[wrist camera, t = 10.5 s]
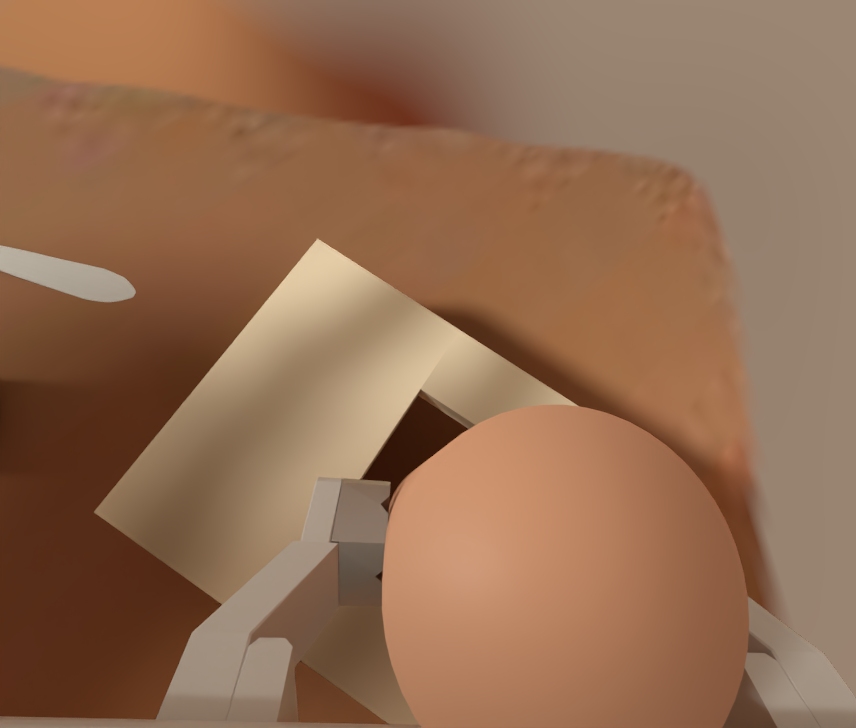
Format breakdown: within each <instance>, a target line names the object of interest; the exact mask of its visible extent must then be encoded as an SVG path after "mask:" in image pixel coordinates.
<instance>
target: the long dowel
mask: <svg viewBox="0 0 856 728" xmlns="http://www.w3.org/2000/svg"><path fill="white" fill-rule="evenodd" d="M382 615H383V624H384V633H385V639H386V644H387V648H388V652H389V656H390V660H391V665H392V668H393V670H394V673H395V676H396V678H397V681H398V684H399V686H400V689H401V692H402V694H403V696H404V698H405V700H406V702H407V703H408V705H409V707H410V709H411V711H412V713H413V715H414V717H415V719H416V720H417V721H418V723H419V724H420V726H421V727H422V728H722V727H723V725H724V723H725V721H726V719H727V717H728V715H729V713H730V710H731V708H732V706H733V704H734V702H735V699H736V696H737V693H738V690H739V686H740V683H741V680H742V677H743V672H744V667H745V661H746V656H747V650H748V636H749V609H748V595H747V589H746V583H745V577H744V571H743V567H742V564H741V560H740V557H739V553H738V550H737V546H736V544H735V541H734V539H733V536H732V534H731V532H730V529H729V527H728V524H727V522H726V520H725V518H724V516H723V515H722V513H721V511H720V509H719V507H718V505H717V504H716V502H715V500H714V499H713V497H712V496H711V494H710V493H709V491H708V490H707V488H706V487H705V486H704V484H703V483H702V481H701V480H700V479H699V478H698V476H697V475H696V474H695V473H694V472H693V471H692V470H691V468H690V467H689V466H688V465H687V464H686V463H685V462H684V461H683V460H682V459H681V458H680V457H679V456H678V455H677V454H676V453H674V452H673V451H672V450H671V449H670V448H669V447H668V446H667V445H665V444H664V443H662V442H661V441H660V440H658V439H657V438H656V437H654V436H653V435H651V434H650V433H649V432H647V431H645V430H643V429H641V428H639V427H638V426H636V425H634V424H632V423H630V422H629V421H626V420H624V419H621V418H619V417H616V416H614V415H611V414H609V413H605V412H602V411H598V410H594V409H590V408H586V407H579V406H571V405H538V406H530V407H523V408H519V409H515V410H512V411H508V412H504V413H501V414H498V415H496V416H494V417H491V418H489V419H487V420H485V421H482V422H480V423H478V424H477V425H475V426H473V427H472V428H470V429H468V430H467V431H465V432H463V433H462V434H460V435H459V436H458V437H457V438H455V439H454V440H453V441H451V442H450V443H449V444H447V445H446V446H445V447H444V448H442V449H441V450H440V451H438V452H437V453H436V454H434V455H433V456H432V457H431V458H429V459H428V460H427V461H425V462H424V463H423V464H421V465H420V466H419V467H418V468H416V469H415V470H414V471H412V472H411V473H410V474H409V475H407V476H406V477H405V478H404V479H403V480H402V481H401V482H400V484H399V485H398V487H397V488H396V490H395V491H394V493H393V495H392V498H391V500H390V503H389V516H388V526H387V532H386V540H385V548H384V562H383V577H382Z"/></svg>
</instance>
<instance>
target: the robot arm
mask: <svg viewBox="0 0 856 728" xmlns="http://www.w3.org/2000/svg"><path fill="white" fill-rule="evenodd" d="M390 484H391V482H386V481H373V480H360V479H347V478H343V479H340V478H328V477H318V479H317V481H316V482H315V486H314V490H313V494H312V498H311V502H310V506H309V509H308V513H307V517H306V521H305V525H304V529H303V533H302V537H301V541H292V542H291V543H290V544H289V545H288V546H287V547H286V548H284V549H283V550H282V551H281V552H280V553H279V554H278V555H277V556H276V557H274V558H273V559H272V560H271V561H270V562H269V563H268V564H267V565H266V566H265V567H263V568H262V569H261V570H260V571H259V572H258V573H257V574H256V575H255V576H254V577H252V578H251V579H250V580H249V581H248V582H247V583H246V584H245V585H244V586H243V587H241V588H240V589H239V590H238V591H237V592H236V593H235V594H234V595H233V596H232V597H230V598H229V599H228V600H227V601H226V602H225V603H224V604H223V605H222V606H220V607H219V608H218V609H217V610H216V611H215V612H214V613H213V614H212V615H211V616H209V617H208V618H207V619H206V620H205V621H204V622H203V623H202V624H201V625H200V626H198V627H197V628H196V629H195V630H194V631H193V632H192V633H191V636H190V638H189V641H188V643H187V645H186V648H185V650H184V653H183V655H182V657H181V660H180V662H179V665H178V667H177V669H176V672H175V674H174V677H173V679H172V681H171V684H170V686H169V689H168V691H167V693H166V696H165V698H164V701H163V703H162V705H161V708H160V710H159V713H158V715H157V717H156V719H108V718H60V717H11V716H0V728H422V727H421V726H420V725H407V724H357V723H307V722H299V716H298V705H297V693H296V681H295V669H294V668H295V667H296V666H297V664H298V663H299V661H300V660H301V659H302V657H303V656H304V655H305V653H306V652H307V651H308V649H309V648H310V647H311V645H312V644H313V643H314V641H315V640H316V639H317V637H318V636H319V634H320V633H321V632H322V630H323V629H324V628H325V626H326V625H327V624H328V622H329V621H330V620H331V618H332V617H333V616H334V614H335V613H336V612H337V610H338V609H339V606H382V577H383V562H384V548H385V540H386V532H387V526H388V516H389V500H390ZM748 609H749V636H748V650H747V656H746V661H745V667H744V672H743V677H742V680H741V683H740V686H739V690H738V693H737V696H736V699H735V702H734V704H733V706H732V708H731V710H730V713H729V715H728V717H727V719H726V721H725V723H724V725H723V727H722V728H856V697H855V696H854V694H853V693H852V692H851V690H850V689H849V688H848V686H847V685H846V683H845V682H844V680H843V679H842V678H841V676H840V675H839V674H838V672H837V671H836V669H835V668H834V667H833V665H832V664H831V662H830V661H829V660H828V658H827V657H826V656H825V654H824V653H823V652H821V651H820V650H819V649H817V648H816V647H815V646H813V645H812V644H811V643H809V642H808V641H807V640H805V639H804V638H803V637H801V636H800V635H799V634H797V633H796V632H795V631H793V630H792V629H791V628H790V627H788V626H787V625H786V624H784V623H783V622H782V621H780V620H779V619H778V618H776V617H775V616H774V615H772V614H771V613H770V612H768V611H767V610H766V609H764V608H763V607H762V606H760V605H759V604H758V603H756V602H755V601H754V600H752V599H751V598H750V597H748Z"/></svg>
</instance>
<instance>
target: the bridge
mask: <svg viewBox="0 0 856 728" xmlns="http://www.w3.org/2000/svg"><path fill="white" fill-rule="evenodd" d="M418 396H419V397H421V398H422V399H424V400H425V401H427V402H428V403H430V404H431V405H433V406H434V407H436V408H438V409H439V410H441V411H442V412H444V413H445V414H447V415H448V416H450V417H451V418H453V419H454V420H456V421H457V422H459V423H460V424H462V425H463V426H465V427H466V428H468V429H470V428H472V427H473V426H475V425H477V424H478V423H480V422H482V421H485V420H487V419H489V418H491V417H494V416H496V415H498V414H501V413H504V412H508V411H512V410H515V409H519V408H523V407H530V406H538V405H571V406H578V405H576V404H575V403H573V402H571V401H570V400H568V399H567V398H565V397H564V396H562V395H561V394H559V393H557V392H556V391H554V390H553V389H551V388H550V387H548V386H546V385H545V384H543V383H542V382H540V381H539V380H537V379H536V378H534V377H532V376H531V375H529V374H528V373H526V372H525V371H523V370H521V369H520V368H518V367H517V366H515V365H514V364H512V363H511V362H509V361H507V360H506V359H504V358H503V357H501V356H500V355H498V354H497V353H495V352H493V351H492V350H490V349H489V348H487V347H486V346H484V345H482V344H481V343H479V342H478V341H476V340H475V339H473V338H472V337H470V336H468V335H467V334H465V333H464V332H462V331H461V330H459V329H457V328H456V327H454V326H453V325H451V324H450V323H448V322H447V321H445V320H443V319H442V318H440V317H439V316H437V315H436V314H434V313H432V312H431V311H429V310H428V309H426V308H425V307H423V306H422V305H420V304H418V303H417V302H415V301H414V300H412V299H411V298H409V297H408V296H406V295H404V294H403V293H401V292H400V291H398V290H397V289H395V288H393V287H392V286H390V285H389V284H387V283H386V282H384V281H383V280H381V279H379V278H378V277H376V276H375V275H373V274H372V273H370V272H368V271H367V270H365V269H364V268H362V267H361V266H359V265H358V264H356V263H354V262H353V261H351V260H350V259H348V258H347V257H345V256H343V255H342V254H340V253H339V252H337V251H336V250H334V249H333V248H331V247H329V246H328V245H326V244H325V243H323V242H322V241H320V240H318V239H317V240H316V241H315V242H314V244H313V245H312V246H311V247H310V249H309V250H308V251H307V252H306V253H305V255H304V256H303V257H302V258H301V260H300V261H299V262H298V263H297V264H296V266H295V267H294V268H293V269H292V271H291V272H290V273H289V274H288V275H287V277H286V278H285V279H284V280H283V282H282V283H281V284H280V285H279V286H278V288H277V289H276V290H275V291H274V292H273V294H272V295H271V296H270V297H269V299H268V300H267V301H266V302H265V303H264V305H263V306H262V307H261V308H260V310H259V311H258V312H257V313H256V314H255V316H254V317H253V318H252V319H251V321H250V322H249V323H248V324H247V325H246V327H245V328H244V329H243V330H242V332H241V333H240V334H239V335H238V336H237V338H236V339H235V340H234V341H233V343H232V344H231V345H230V346H229V347H228V349H227V350H226V351H225V352H224V354H223V355H222V356H221V357H220V358H219V360H218V361H217V362H216V363H215V364H214V366H213V367H212V368H211V369H210V371H209V372H208V373H207V374H206V375H205V377H204V378H203V379H202V380H201V382H200V383H199V384H198V385H197V386H196V388H195V389H194V390H193V391H192V393H191V394H190V395H189V396H188V397H187V399H186V400H185V401H184V402H183V404H182V405H181V406H180V407H179V408H178V410H177V411H176V412H175V413H174V415H173V416H172V417H171V418H170V419H169V421H168V422H167V423H166V424H165V426H164V427H163V428H162V429H161V430H160V432H159V433H158V434H157V435H156V437H155V438H154V439H153V440H152V441H151V443H150V444H149V445H148V446H147V447H146V449H145V450H144V451H143V452H142V454H141V455H140V456H139V457H138V458H137V460H136V461H135V462H134V463H133V465H132V466H131V467H130V468H129V469H128V471H127V472H126V473H125V474H124V476H123V477H122V478H121V479H120V480H119V482H118V483H117V484H116V485H115V487H114V488H113V489H112V490H111V491H110V493H109V494H108V495H107V496H106V498H105V499H104V500H103V501H102V502H101V504H100V505H99V506H98V507H97V509H96V510H95V511H94V513H95V514H97V515H98V516H100V517H101V518H102V519H104V520H105V521H107V522H108V523H109V524H111V525H112V526H114V527H115V528H116V529H118V530H119V531H121V532H122V533H123V534H125V535H126V536H127V537H129V538H130V539H132V540H133V541H134V542H136V543H137V544H139V545H140V546H141V547H143V548H144V549H146V550H147V551H148V552H150V553H151V554H153V555H154V556H155V557H157V558H158V559H160V560H161V561H162V562H164V563H165V564H166V565H168V566H169V567H171V568H172V569H173V570H175V571H176V572H178V573H179V574H180V575H182V576H183V577H185V578H186V579H187V580H189V581H190V582H192V583H193V584H194V585H196V586H197V587H199V588H200V589H201V590H203V591H204V592H205V593H207V594H208V595H210V596H211V597H212V598H214V599H215V600H217V601H218V602H219V603H221V604H222V605H223V604H224V603H225V602H226V601H227V600H228V599H229V598H230V597H232V596H233V595H234V594H235V593H236V592H237V591H238V590H239V589H240V588H241V587H243V586H244V585H245V584H246V583H247V582H248V581H249V580H250V579H251V578H252V577H254V576H255V575H256V574H257V573H258V572H259V571H260V570H261V569H262V568H263V567H265V566H266V565H267V564H268V563H269V562H270V561H271V560H272V559H273V558H274V557H276V556H277V555H278V554H279V553H280V552H281V551H282V550H283V549H284V548H286V547H287V546H288V545H289V544H290V543H291V542H292V541H301V537H302V533H303V529H304V525H305V521H306V517H307V513H308V509H309V506H310V502H311V498H312V494H313V490H314V486H315V482H316V481H317V479H318V477H328V478H340V479H343V478H347V479H360V480H362V479H363V477H364V476H365V474H366V473H367V471H368V470H369V468H370V467H371V465H372V464H373V462H374V461H375V460H376V458H377V457H378V455H379V454H380V452H381V451H382V449H383V448H384V446H385V445H386V443H387V442H388V440H389V439H390V437H391V436H392V434H393V433H394V431H395V430H396V428H397V427H398V425H399V424H400V422H401V421H402V419H403V418H404V416H405V415H406V413H407V412H408V410H409V409H410V407H411V406H412V404H413V403H414V401H415V400H416V398H417V397H418ZM300 661H302V662H303V663H304V664H306V665H307V666H309V667H310V668H311V669H313V670H314V671H315V672H317V673H318V674H320V675H321V676H322V677H324V678H325V679H327V680H328V681H329V682H331V683H332V684H334V685H335V686H336V687H338V688H339V689H341V690H342V691H343V692H345V693H346V694H348V695H349V696H350V697H352V698H353V699H354V700H356V701H357V702H359V703H360V704H361V705H363V706H364V707H366V708H367V709H368V710H370V711H371V712H373V713H374V714H375V715H377V716H378V717H380V718H381V719H382V720H384V721H385V722H387V723H388V724H407V725H420V724H419V723H418V721H417V720H416V719H415V717H414V715H413V713H412V711H411V709H410V707H409V705H408V703H407V702H406V700H405V698H404V696H403V694H402V692H401V689H400V686H399V684H398V681H397V678H396V676H395V673H394V670H393V668H392V665H391V660H390V656H389V652H388V648H387V644H386V639H385V633H384V624H383V615H382V606H339V609H338V610H337V612H336V613H335V614H334V616H333V617H332V618H331V620H330V621H329V622H328V624H327V625H326V626H325V628H324V629H323V630H322V632H321V633H320V634H319V636H318V637H317V639H316V640H315V641H314V643H313V644H312V645H311V647H310V648H309V649H308V651H307V652H306V653H305V655H304V656H303V657H302V659H301V660H300Z"/></svg>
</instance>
